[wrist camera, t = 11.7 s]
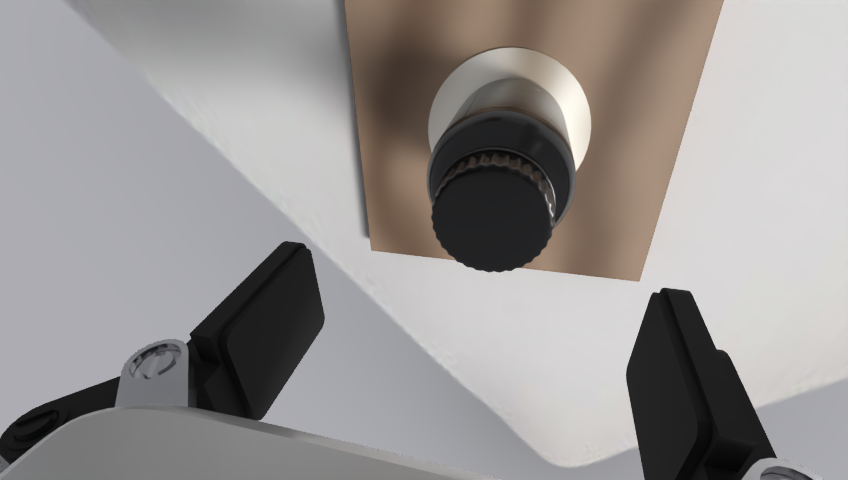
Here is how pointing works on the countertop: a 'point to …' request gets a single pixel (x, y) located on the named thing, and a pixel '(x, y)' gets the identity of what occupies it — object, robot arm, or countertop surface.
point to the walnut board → (558, 74)
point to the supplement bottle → (501, 176)
